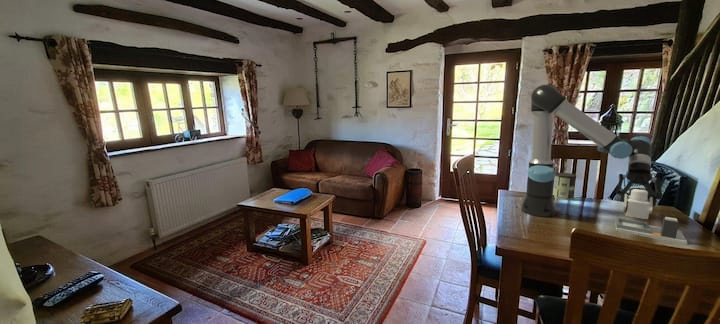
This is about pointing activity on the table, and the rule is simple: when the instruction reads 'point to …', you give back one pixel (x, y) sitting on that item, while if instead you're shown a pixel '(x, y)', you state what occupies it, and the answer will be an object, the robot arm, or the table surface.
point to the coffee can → (564, 186)
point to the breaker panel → (645, 230)
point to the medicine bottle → (637, 203)
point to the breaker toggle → (669, 227)
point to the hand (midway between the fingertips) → (637, 209)
